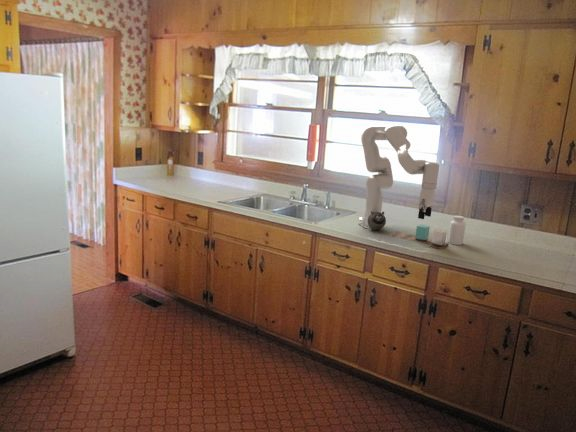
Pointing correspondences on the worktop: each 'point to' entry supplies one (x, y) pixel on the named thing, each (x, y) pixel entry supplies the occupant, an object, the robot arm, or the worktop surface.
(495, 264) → the worktop surface
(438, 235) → the pale wooden cube
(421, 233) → the matte teal square block
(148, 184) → the worktop surface
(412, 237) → the board
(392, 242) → the worktop surface
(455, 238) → the pill bottle
